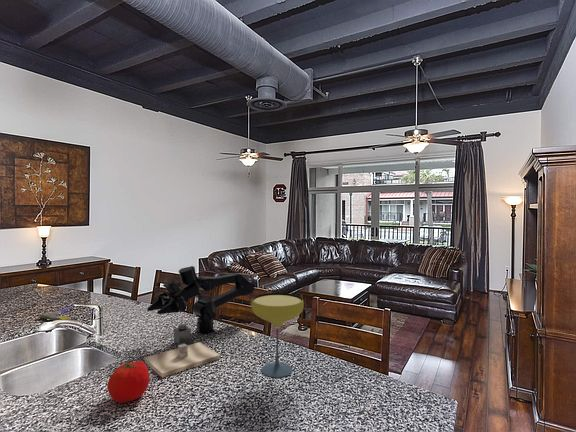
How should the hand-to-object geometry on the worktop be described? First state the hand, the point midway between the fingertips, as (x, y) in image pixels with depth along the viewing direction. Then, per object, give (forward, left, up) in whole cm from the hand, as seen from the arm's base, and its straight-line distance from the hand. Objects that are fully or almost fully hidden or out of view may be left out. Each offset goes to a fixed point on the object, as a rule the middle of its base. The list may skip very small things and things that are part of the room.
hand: (152, 311), depth 140 cm
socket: (-11, +4, -14) cm, 19 cm away
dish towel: (+15, -69, -15) cm, 72 cm away
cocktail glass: (-25, +48, -15) cm, 56 cm away
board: (-4, +19, -14) cm, 24 cm away
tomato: (+19, +32, -15) cm, 40 cm away
